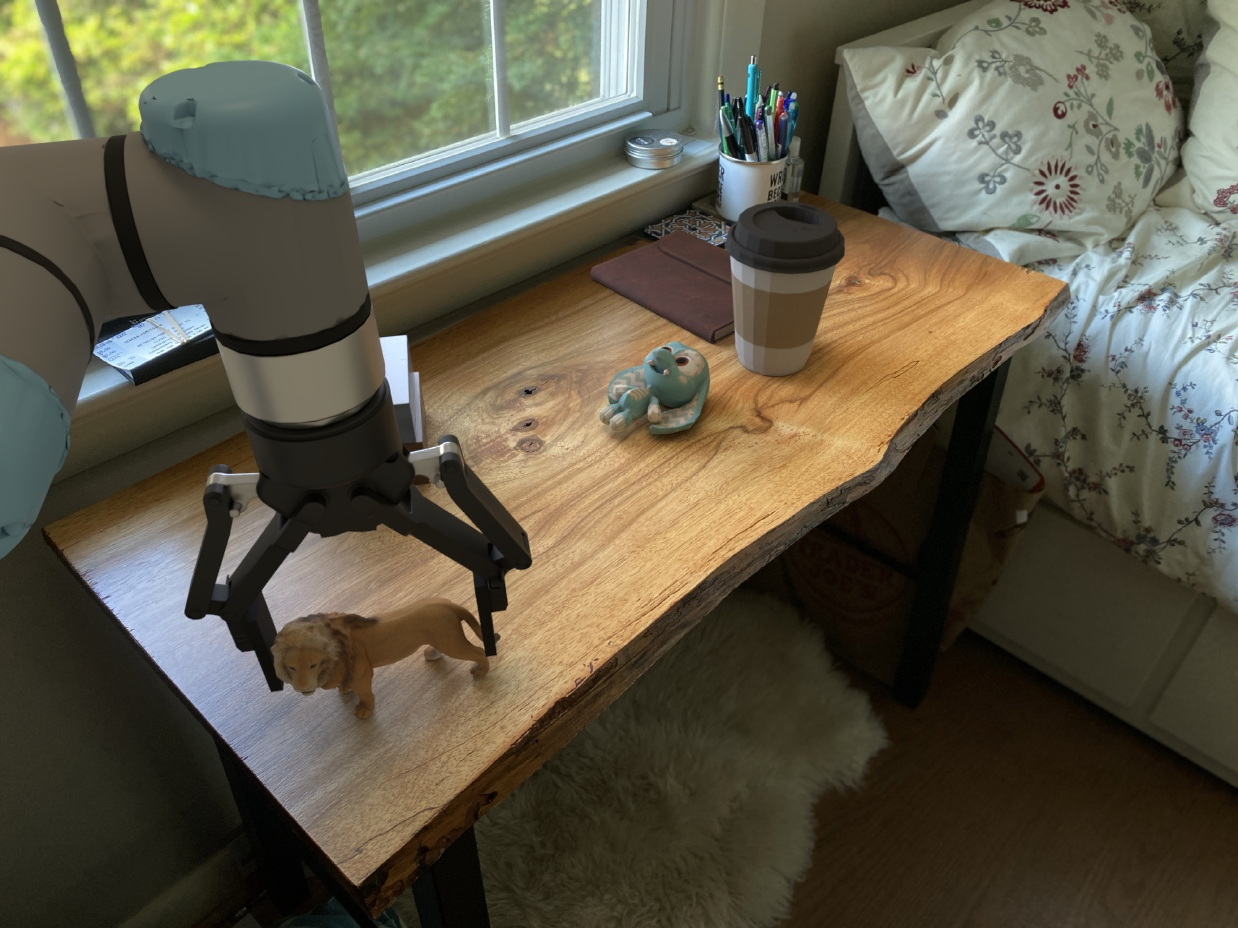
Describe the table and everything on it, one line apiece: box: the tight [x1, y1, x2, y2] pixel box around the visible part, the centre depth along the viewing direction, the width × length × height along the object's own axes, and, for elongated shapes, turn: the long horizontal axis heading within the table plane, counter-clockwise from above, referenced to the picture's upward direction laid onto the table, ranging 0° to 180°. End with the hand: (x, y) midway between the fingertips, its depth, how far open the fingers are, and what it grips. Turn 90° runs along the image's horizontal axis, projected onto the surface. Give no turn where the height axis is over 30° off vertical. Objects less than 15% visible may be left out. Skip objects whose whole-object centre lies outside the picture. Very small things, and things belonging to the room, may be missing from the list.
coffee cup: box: [724, 201, 846, 377], centre depth 92 cm, size 11×11×15 cm
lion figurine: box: [270, 596, 502, 720], centre depth 61 cm, size 15×5×9 cm, turn 122°
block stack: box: [379, 334, 431, 486], centre depth 82 cm, size 9×11×8 cm
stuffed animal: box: [598, 340, 711, 435], centre depth 87 cm, size 11×7×12 cm
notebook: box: [590, 229, 735, 344], centre depth 107 cm, size 15×20×2 cm
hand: (386, 657), depth 61 cm, fingers open, 13 cm apart
